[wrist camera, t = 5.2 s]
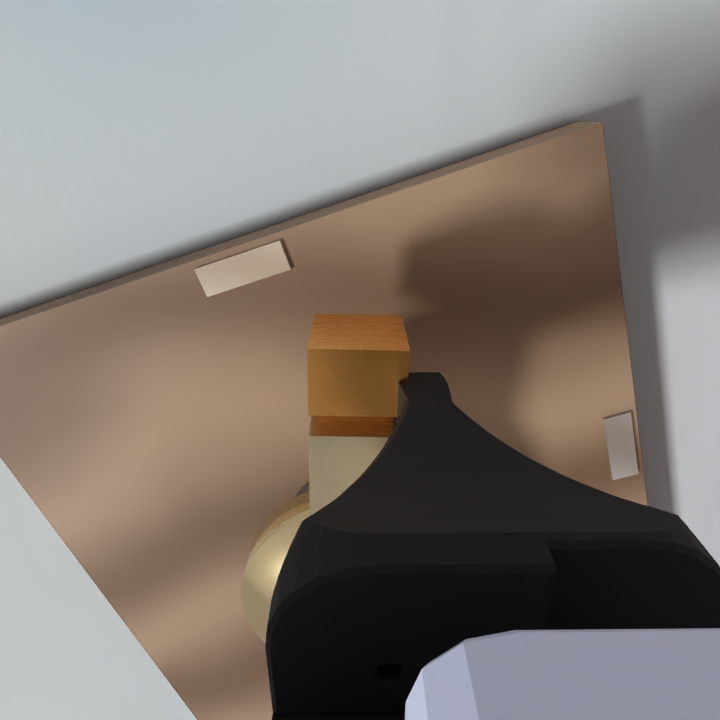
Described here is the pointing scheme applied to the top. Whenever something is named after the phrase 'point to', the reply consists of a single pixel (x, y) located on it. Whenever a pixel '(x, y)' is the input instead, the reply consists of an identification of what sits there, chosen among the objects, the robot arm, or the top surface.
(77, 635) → the top surface
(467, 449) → the robot arm
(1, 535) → the top surface
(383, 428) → the lever handle
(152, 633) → the board
